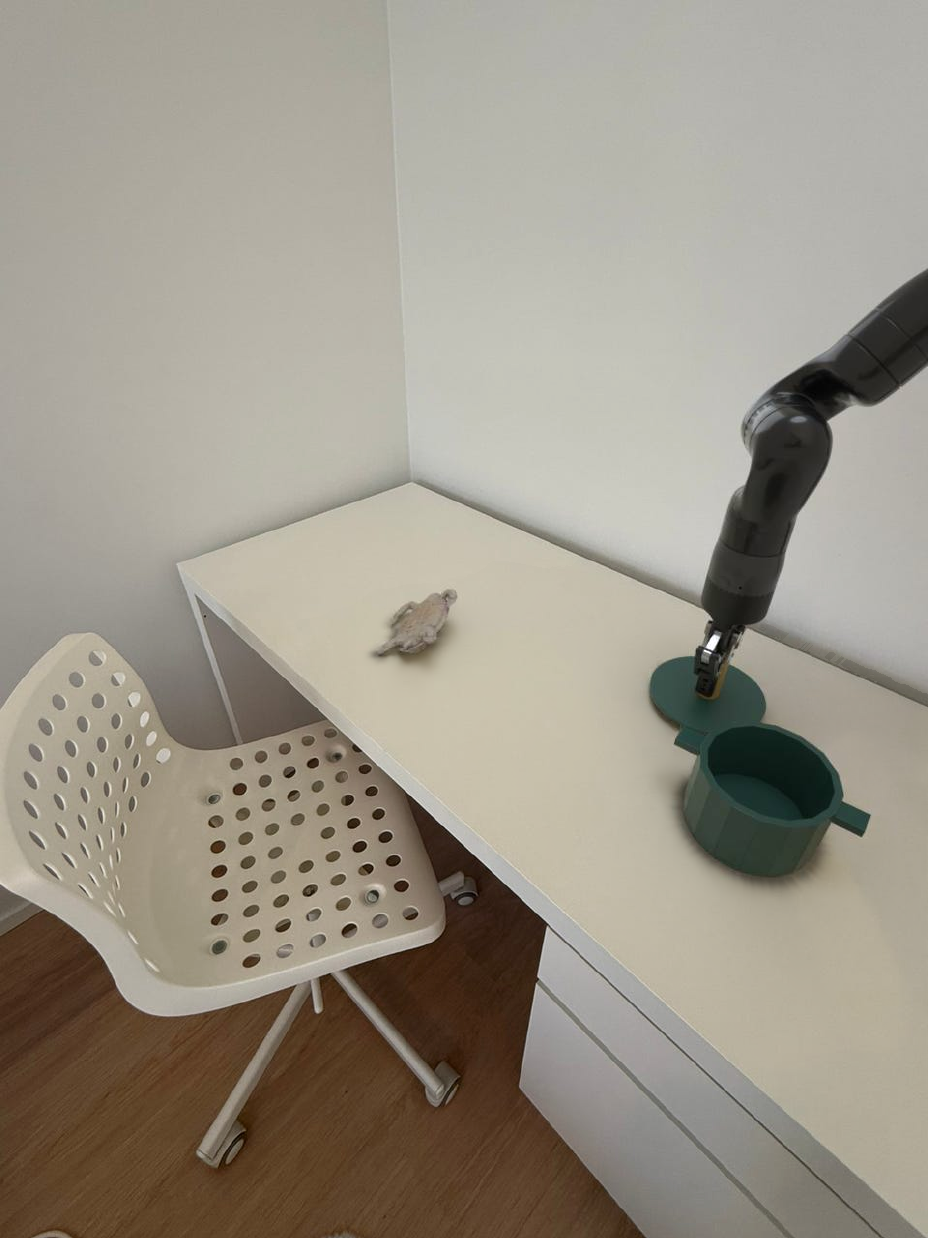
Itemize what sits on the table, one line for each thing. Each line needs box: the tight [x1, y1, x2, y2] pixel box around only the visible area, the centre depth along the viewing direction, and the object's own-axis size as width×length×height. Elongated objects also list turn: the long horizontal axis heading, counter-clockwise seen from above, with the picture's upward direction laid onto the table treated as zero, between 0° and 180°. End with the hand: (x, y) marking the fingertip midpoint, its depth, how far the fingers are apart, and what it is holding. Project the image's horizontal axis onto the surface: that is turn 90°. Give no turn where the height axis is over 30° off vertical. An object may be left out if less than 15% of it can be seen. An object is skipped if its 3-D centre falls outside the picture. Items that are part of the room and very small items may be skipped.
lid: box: [648, 650, 767, 736], centre depth 84 cm, size 15×15×7 cm
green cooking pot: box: [673, 721, 872, 878], centre depth 69 cm, size 14×19×8 cm
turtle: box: [378, 588, 458, 655], centre depth 95 cm, size 16×10×10 cm, turn 7°
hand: (709, 685), depth 84 cm, fingers closed on lid, 3 cm apart
